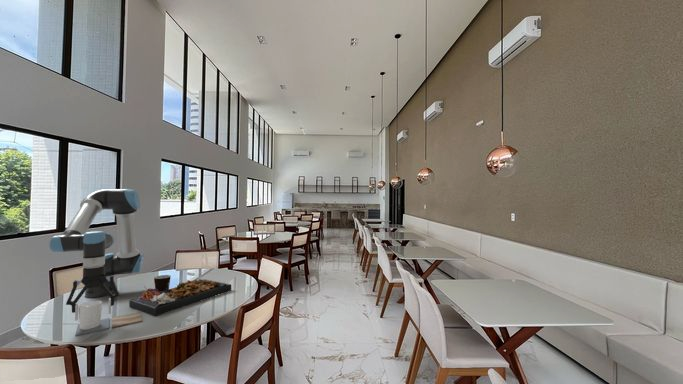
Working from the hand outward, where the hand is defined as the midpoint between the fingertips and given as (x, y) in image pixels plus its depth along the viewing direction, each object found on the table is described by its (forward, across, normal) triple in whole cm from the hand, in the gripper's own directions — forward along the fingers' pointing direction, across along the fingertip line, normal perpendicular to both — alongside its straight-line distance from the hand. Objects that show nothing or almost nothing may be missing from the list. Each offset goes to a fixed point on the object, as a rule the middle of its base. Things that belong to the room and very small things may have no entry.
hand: (93, 316), depth 130 cm
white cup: (+4, -1, 0) cm, 5 cm away
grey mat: (+5, 0, 0) cm, 5 cm away
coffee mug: (+5, +32, +36) cm, 48 cm away
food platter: (+6, +39, +17) cm, 43 cm away
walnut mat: (+5, +12, 0) cm, 13 cm away
